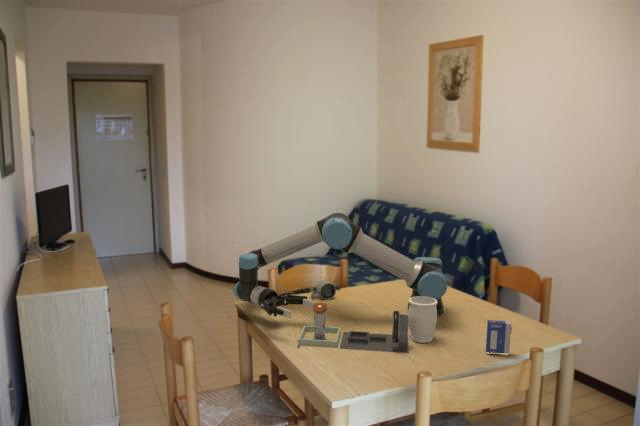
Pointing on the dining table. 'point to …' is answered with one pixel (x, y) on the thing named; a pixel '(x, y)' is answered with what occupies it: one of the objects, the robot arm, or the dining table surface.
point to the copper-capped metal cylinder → (319, 320)
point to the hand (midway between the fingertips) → (303, 310)
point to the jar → (422, 318)
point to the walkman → (498, 336)
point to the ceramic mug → (324, 290)
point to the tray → (319, 342)
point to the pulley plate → (380, 338)
